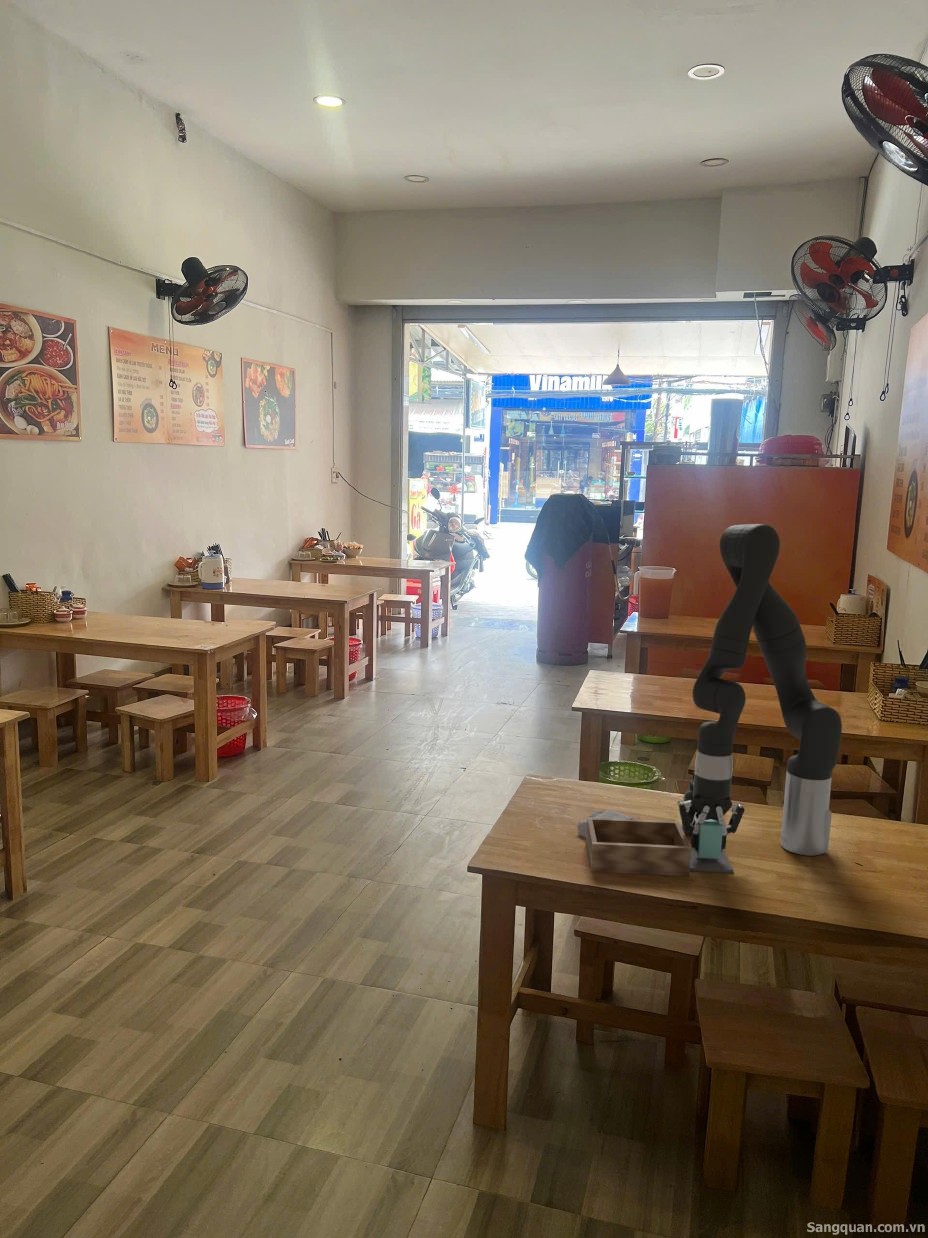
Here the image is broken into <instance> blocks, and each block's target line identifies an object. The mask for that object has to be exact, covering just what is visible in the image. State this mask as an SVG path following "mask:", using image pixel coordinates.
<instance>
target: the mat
mask: <svg viewBox="0 0 928 1238" xmlns="http://www.w3.org/2000/svg"><path fill="white" fill-rule="evenodd" d="M690 872H706V873H708V872H709V873H710V872H711V873H731V874H734V872H735V871H734V868H733V866H732V864H731V863H730V861H729V859H728V857H727V855H726V853H725V851H722V852H721V858H709V857H699V856H698V854H697V852H696V850H694V849H691V859H690Z"/></svg>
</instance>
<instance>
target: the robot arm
mask: <svg viewBox="0 0 928 1238" xmlns="http://www.w3.org/2000/svg"><path fill="white" fill-rule="evenodd" d="M780 549H781V541H780V536H779V534H778V531H776V529H775V528H774V527H772V526H771V525H769V524H767V523H766V524H765V523H750V524H742V523H741V524H735V525H734V524H733V525H730V526H729V527H727V528H725V530H724V531H723V533H722V534H721V537H720V539H719V551H720V556H721V559H722V561H723V563H724V565H725V567H726V569H727V571H728V574H729V575H730V577H731V579H732V581H733V583H734V585H735V587H736V589H735V592H734V594H733V595H732V597H731V599H730V601H729V602H728V604H727V605H726V606H725V607H724V610H723V611H722V613H721V615H720V616H719V618H718V620H717V623H716V626H715V629H714V633H713V637H712V642H711V647H710V651H709V654H708V657H707V659H706V660H705V663H704V664H703V667H702V669H701V671H700V672H699V675H698V676H697V678H696V680H695V682H694V684H693V687H692V700H693V703H694V705H695V706H696V707H697V708H698V709H701V710H703V711H708V712H711V713H714V714H718V715H719V718H718V720H717V721H706V722H703V723H701V725H699V728H698V734H697V735H698V736H697V750H696V755H695V760H694V776H693V777H694V778H693V779H694V787H693V795H692V797H691V799H690V800H689V801H685V802H683V801H684V800H683V801H682V800H678V801H677V807H678V811H679V815H680V819H681V825H682V824H683V826H684V829H685V830H686V831H690V832H691V836H690V846H691V848H692V849H693V850H696V851H698V844H699V834H698V833H699V830H700V824H703V823H704V820H709V819H712V820H717V821H718V823H719V825H722V826H723V833H722V846H721V852H724V851H723V850H725V849H726V848H727V847H726V846H727V837H728V836H727V835H729V834H735V833H736V832H737V830H738V827H739V825H740V823H741V821H742V818H743V815H744V814H745V807H744V806H743V804H742V803H741V802H738V803H737V802H736V803H735V802H732V800H731V793H732V792H731V791H732V777H733V774H734V772H733V771H734V769H733V765H734V763H733V750H734V749H733V747H734V736H735V732H736V730H737V726H738V723H739V721H740V717H741V715H742V713H743V710H744V708H745V704H746V700H747V699H746V698H747V697H746V691H745V689H744V687H743V686H742V685H741V684H740V683H738V682H736V681H732V680H727V679H722V678H721V677H722V675H724V673H725V672H726V671H728V670H740V669H742V668H743V666H744V664H745V660H746V655H747V651H748V647H749V642H750V637H751V632H752V629H753V633H754V636H755V638H756V641H757V644H758V646H759V650H760V652H761V654H762V658H763V659H764V661H765V663H766V667H767V670H768V672H769V675H770V677H771V681H772V682H773V685H774V687H775V690H776V693H777V695H776V696H777V699H778V702H779V708H780V711H781V715H782V720H783V723H784V725H785V728H786V729H787V730H788V732H789V733H790V734H791V735H792V736H793V737H795V738H796V739H798V740H799V741H800V744H799V749H798V754H794V755H792V756H790V757H788V760H787V763H786V773H785V774H786V775H785V787H784V798H783V808H782V809H783V810H782V822H781V831H780V843H779V844H780V846H781V847H782V848H783V849H785V850H786V851H788V852H790V853H793V854H798V855H801V856H812V857H813V856H819V855H822V854H829V848H830V847H829V846H830V836H831V835H830V834H831V824H832V816H833V814H832V811H831V810H830V801H831V800H830V798H831V787H832V786H831V785H832V776H833V770H834V769H835V767H836V765H837V763H838V758H839V752H840V746H841V741H842V740H841V739H842V732H843V731H842V730H843V727H842V726H843V725H842V723H843V722H842V719H841V716H840V714H839V712H838V711H837V710H836V709H834V708H833V707H831V706H829V705H827V704H824V703H822V702H820V701H818V699H816V697H815V695H814V693H813V691H812V689H811V686H810V684H809V683H810V682H809V681H808V678H807V675H806V661H807V641H806V638H805V635H804V632H803V630H802V627H801V624H800V622H799V619H798V617H797V614H796V613H795V611H794V610H793V609H792V608H791V606H790V605H789V604H788V602H787V601H785V599H784V598H783V597H782V596H781V595H780V594H779V593H778V591H777V590H776V589H775V588H774V587H773V586H772V584H771V582H770V578H771V576H772V574H773V571H774V568H775V566H776V564H777V561H778V557H779V554H780ZM690 806H692V807H693V808H694V810H695V811H696V813H695V816H694V820H693V823H692V824H690V823H689V820H688V816H687V812H689V808H690ZM730 809H731V813H732V814H731V817H730V819H729V822H728V824H727V823H726V821H725V815H726V814H727V813H728V812H729V810H730Z"/></svg>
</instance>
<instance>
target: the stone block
mask: <svg viewBox="0 0 928 1238" xmlns="http://www.w3.org/2000/svg"><path fill="white" fill-rule="evenodd" d="M587 817H589V818H611V819H634V818H633V816H628V815H626V814H623V813H622V812H617V811H615V810H598V811H595V812H594V813H592V814H590V815H588V816H587ZM587 817H585V819H583V820H582V821H579V822H578V825H577V831H578V834H579V836H581V837H583V838H585V839H586V833H587Z"/></svg>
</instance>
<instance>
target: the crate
mask: <svg viewBox="0 0 928 1238" xmlns="http://www.w3.org/2000/svg"><path fill="white" fill-rule="evenodd" d="M586 818H587V833H586V838H585V839H586V840H585V845H586V849H587V851H586V852H587V857H588V861H589V868H590V872H595V873H596V872H598V873H613V874H615V873H617V874H618V873H619V874H639V875H640V874H641V875H657V876H658V875H661V876H679V877H680V876H682V877H689V876H690V872H691V871H690V859H691V850H692V846H691V844H690V843H689V841H688V839H687V836H686V834H685V833H684V832H683V829H682V824H681V823H680V821H676V820H675V821H673V820H656V819H655V820H650V819H634V818H633V819H611V818H589V817H588V816H587V817H586Z"/></svg>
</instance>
